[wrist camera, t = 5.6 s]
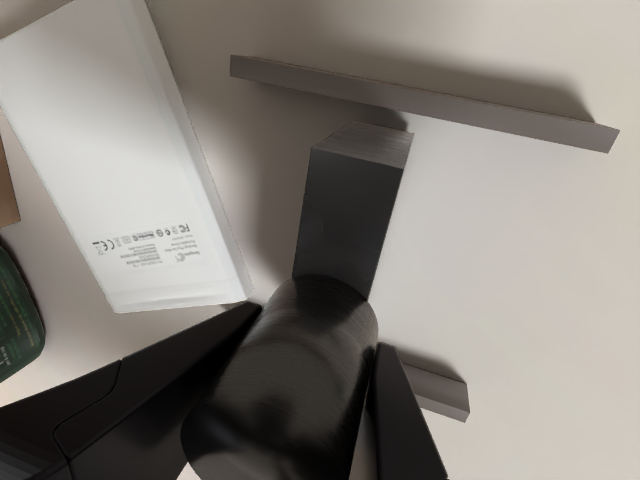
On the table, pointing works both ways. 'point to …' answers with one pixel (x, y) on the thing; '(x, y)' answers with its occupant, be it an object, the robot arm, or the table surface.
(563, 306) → the table surface
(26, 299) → the coffee jar
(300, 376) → the clamp jaw
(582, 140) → the base
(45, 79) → the external hard drive
